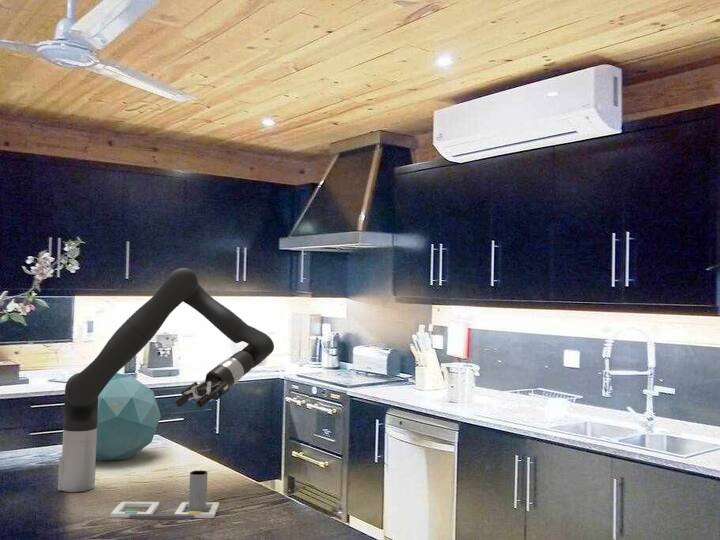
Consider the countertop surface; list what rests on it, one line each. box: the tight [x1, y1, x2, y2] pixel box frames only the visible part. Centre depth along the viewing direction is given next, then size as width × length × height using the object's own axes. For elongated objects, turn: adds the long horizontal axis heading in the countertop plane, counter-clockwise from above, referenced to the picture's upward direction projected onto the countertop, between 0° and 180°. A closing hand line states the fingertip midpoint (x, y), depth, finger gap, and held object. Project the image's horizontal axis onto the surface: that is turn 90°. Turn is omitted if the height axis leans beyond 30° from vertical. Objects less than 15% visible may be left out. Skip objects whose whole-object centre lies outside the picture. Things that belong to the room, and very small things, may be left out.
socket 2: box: [173, 501, 220, 519], centre depth 178 cm, size 10×10×1 cm
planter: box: [188, 469, 209, 512], centre depth 178 cm, size 4×4×10 cm
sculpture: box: [96, 372, 161, 462], centre depth 233 cm, size 29×29×30 cm
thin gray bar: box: [128, 514, 195, 520], centre depth 172 cm, size 16×1×1 cm, turn 94°
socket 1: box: [109, 501, 160, 519], centre depth 177 cm, size 10×10×1 cm
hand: (187, 404), depth 188 cm, fingers open, 8 cm apart
